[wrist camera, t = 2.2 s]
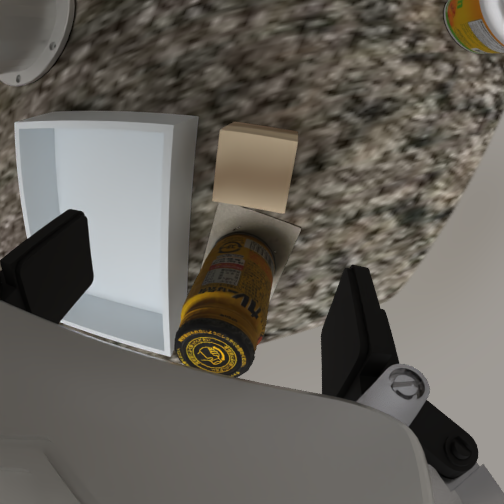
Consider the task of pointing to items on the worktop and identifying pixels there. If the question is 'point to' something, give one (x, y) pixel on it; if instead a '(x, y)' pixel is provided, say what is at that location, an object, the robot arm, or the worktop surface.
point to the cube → (254, 166)
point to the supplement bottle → (476, 24)
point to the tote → (117, 212)
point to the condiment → (233, 290)
